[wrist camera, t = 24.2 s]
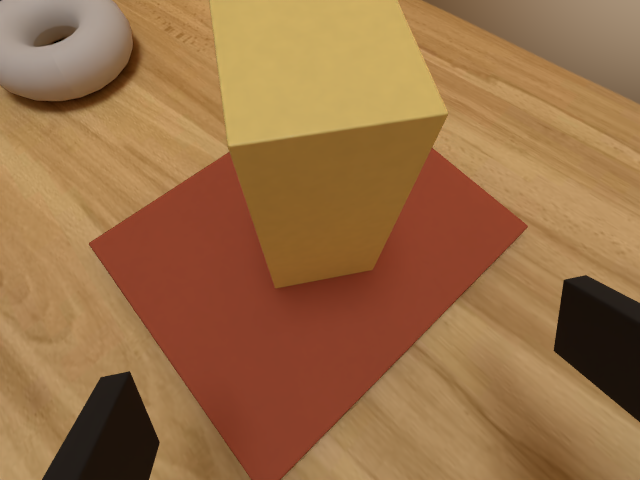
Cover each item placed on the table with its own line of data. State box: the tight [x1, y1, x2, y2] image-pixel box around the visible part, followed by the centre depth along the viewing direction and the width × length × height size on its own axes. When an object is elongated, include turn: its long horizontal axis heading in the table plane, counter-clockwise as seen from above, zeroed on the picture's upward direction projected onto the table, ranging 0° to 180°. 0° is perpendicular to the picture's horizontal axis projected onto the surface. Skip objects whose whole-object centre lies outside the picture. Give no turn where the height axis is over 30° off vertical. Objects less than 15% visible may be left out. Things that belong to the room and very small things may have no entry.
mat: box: [89, 148, 528, 480], centre depth 21 cm, size 20×16×1 cm
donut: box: [0, 0, 133, 101], centre depth 25 cm, size 10×3×10 cm
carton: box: [209, 0, 448, 288], centre depth 15 cm, size 6×6×12 cm
